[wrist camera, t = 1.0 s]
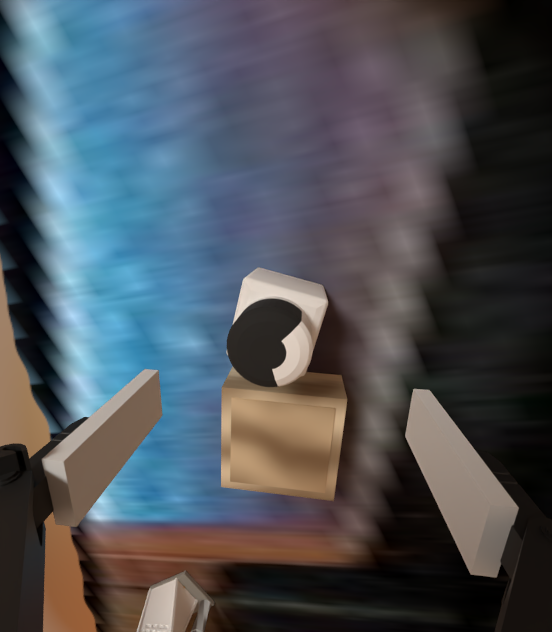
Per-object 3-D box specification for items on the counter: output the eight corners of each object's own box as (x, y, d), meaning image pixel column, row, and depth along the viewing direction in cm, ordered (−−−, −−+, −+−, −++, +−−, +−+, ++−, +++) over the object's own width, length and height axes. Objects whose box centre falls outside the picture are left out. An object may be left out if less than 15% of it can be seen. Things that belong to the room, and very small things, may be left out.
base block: (233, 365, 34) (221, 387, 29) (341, 375, 33) (347, 400, 28) (231, 454, 38) (220, 487, 33) (330, 465, 37) (333, 502, 32)
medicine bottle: (241, 330, 33) (207, 383, 22) (257, 266, 31) (228, 287, 20) (304, 348, 33) (304, 411, 22) (324, 285, 31) (335, 318, 19)
